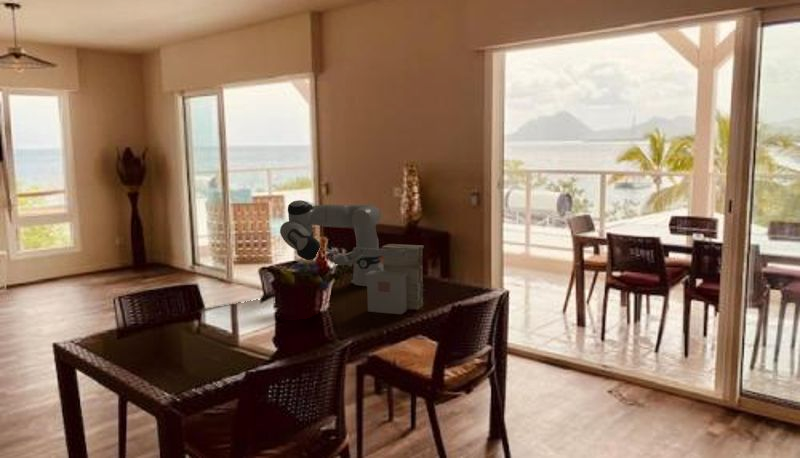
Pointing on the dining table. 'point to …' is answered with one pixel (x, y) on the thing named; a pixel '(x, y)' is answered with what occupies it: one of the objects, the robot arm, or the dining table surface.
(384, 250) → the bar
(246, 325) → the dining table surface
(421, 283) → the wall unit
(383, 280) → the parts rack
